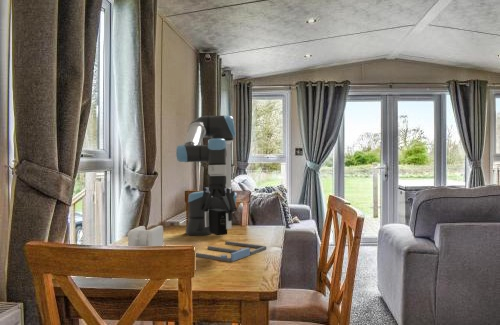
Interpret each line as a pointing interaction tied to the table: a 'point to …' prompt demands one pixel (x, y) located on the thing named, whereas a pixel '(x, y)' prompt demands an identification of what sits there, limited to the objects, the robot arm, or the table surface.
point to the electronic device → (217, 221)
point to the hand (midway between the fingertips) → (218, 227)
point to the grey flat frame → (233, 251)
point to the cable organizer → (145, 236)
